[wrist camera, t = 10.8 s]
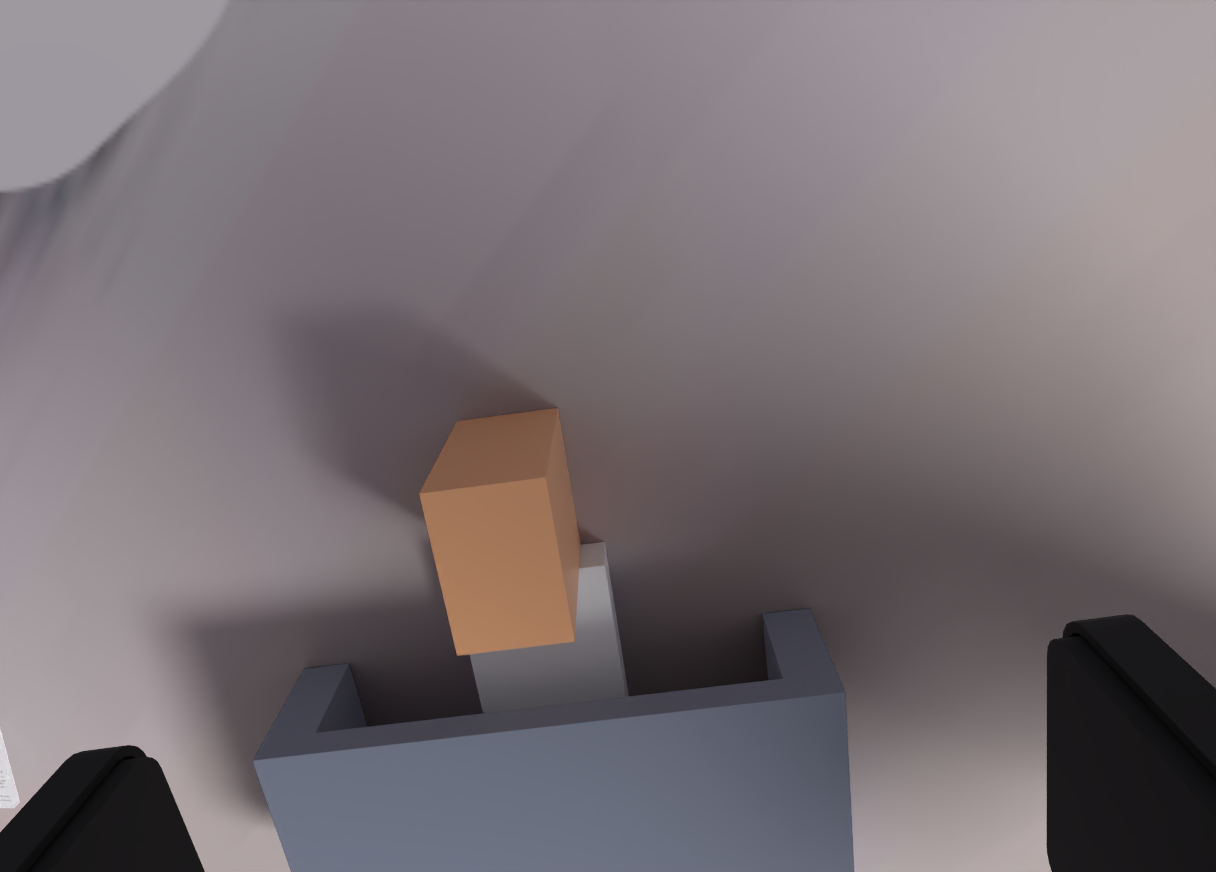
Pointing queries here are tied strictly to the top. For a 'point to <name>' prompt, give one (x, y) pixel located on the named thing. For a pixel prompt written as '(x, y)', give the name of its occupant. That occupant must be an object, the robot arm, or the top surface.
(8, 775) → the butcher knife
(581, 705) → the riser shelf
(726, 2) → the top surface
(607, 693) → the scraper tool
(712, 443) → the top surface
